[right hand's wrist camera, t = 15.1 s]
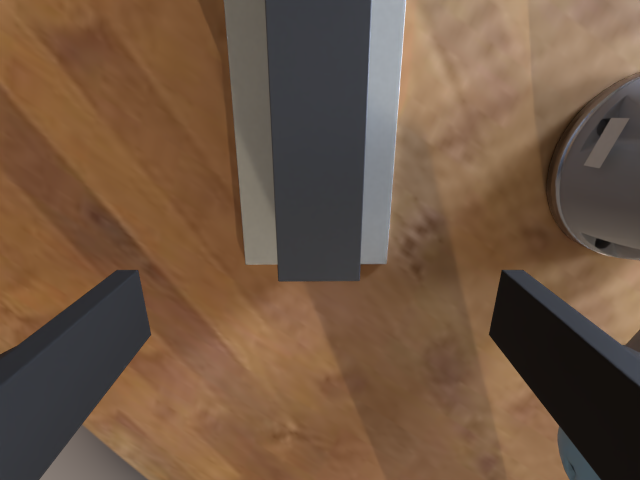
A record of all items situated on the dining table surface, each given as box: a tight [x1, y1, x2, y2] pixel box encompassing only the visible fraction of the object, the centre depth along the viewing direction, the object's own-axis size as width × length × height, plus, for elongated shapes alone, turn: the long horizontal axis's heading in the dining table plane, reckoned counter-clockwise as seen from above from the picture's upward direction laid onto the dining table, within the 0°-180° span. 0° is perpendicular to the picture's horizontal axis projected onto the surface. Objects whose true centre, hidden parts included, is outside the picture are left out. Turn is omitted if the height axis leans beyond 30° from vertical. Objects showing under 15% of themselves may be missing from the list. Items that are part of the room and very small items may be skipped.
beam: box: [265, 0, 372, 281], centre depth 20 cm, size 30×5×10 cm, turn 0°
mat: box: [224, 0, 406, 265], centre depth 25 cm, size 36×13×1 cm, turn 0°
